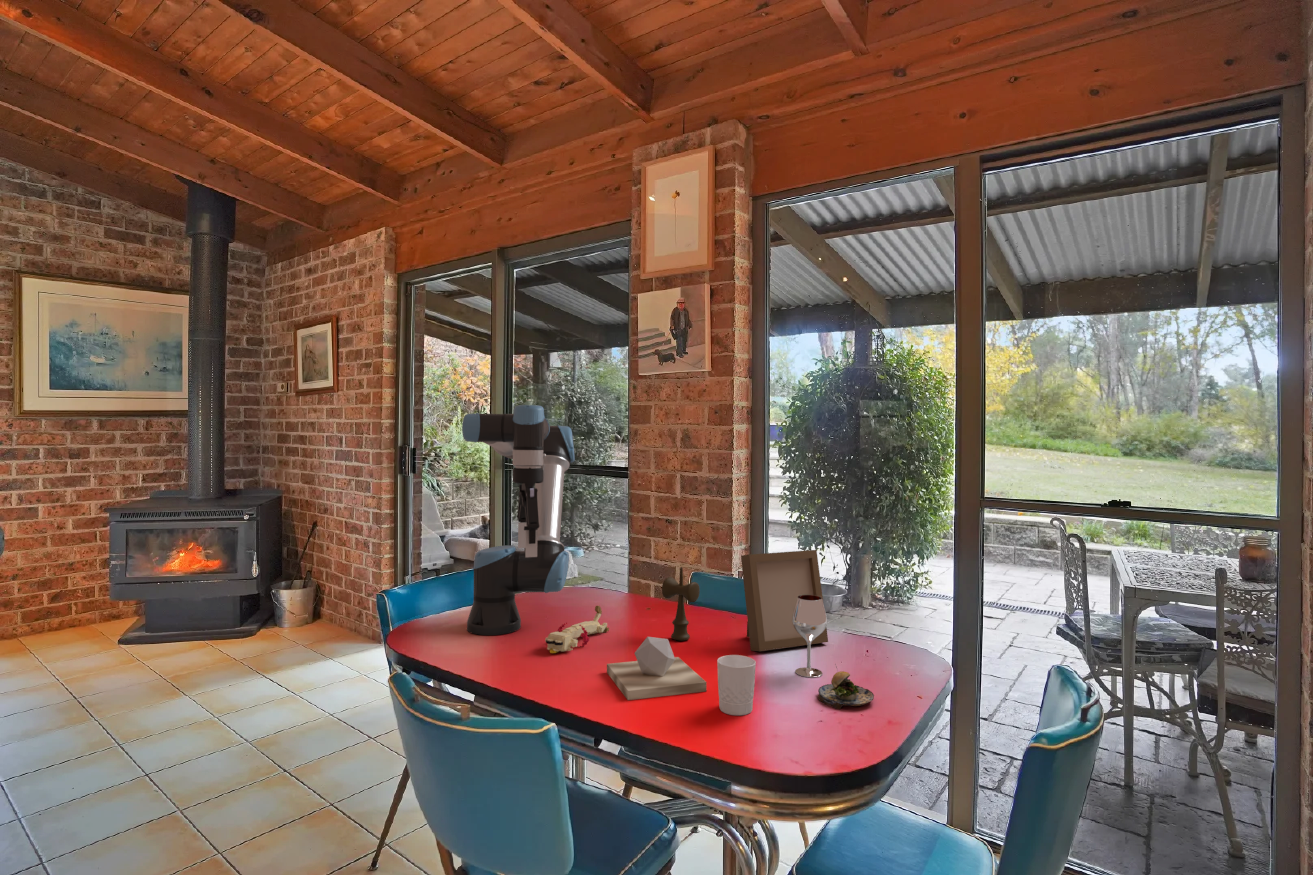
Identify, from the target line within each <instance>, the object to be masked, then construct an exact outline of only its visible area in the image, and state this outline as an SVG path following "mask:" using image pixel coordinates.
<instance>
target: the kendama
mask: <svg viewBox="0 0 1313 875" xmlns="http://www.w3.org/2000/svg"><path fill="white" fill-rule="evenodd" d="M683 574H684V572H683V567H682V566H681V567H680V568H679V579H678V580H679V582H678V581H677V580H676V579H675V578H674V577H672V576H667V577H666V578H665V579H664V580H663V582H662V586H661V591H662V592H661V593H662V596H663V598H665V599H671V598H674V596H677V595H678V600H677V607H676V612H675V618H674V619H673V620H672V622H671V624H672V625H673V632H672V633H671V635H670V637H671V638H670V639H672V640H675V641H677V642H678V641H683V642H684V641H688V640H689V639H690V638H691V636H690V634H689V632H688V625H689V624H690V621H688V619H687V616H686V610H685V603H684V602H685V601H684V599H686V601H688V602H689V603H695V602H697V601H698V600H699V597H700V592H701V591H700V589H701V588H700V585H699V583H698V582H696V581H692V582H690V583H688V584H686V585H685V584H684V575H683Z"/></svg>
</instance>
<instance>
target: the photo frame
mask: <svg viewBox="0 0 1313 875" xmlns="http://www.w3.org/2000/svg"><path fill="white" fill-rule="evenodd" d="M740 562H741V570H742V580H743V588H744V598H745V607H746V608H745V609H746V617H747V618H746V619H747V621H746V622H747V624H746V638H749V646H750V651H751V652H752V651H754V652H765V651H772V650H780V649H786V648H793V647H795V648H796V647H800V646H807V642H806V640H805V639H804V638H803V637H802V636H801V635H800V634H799V633H798V632H797V631H796V630H795V628H794V626H793V624H792V615H793V611H794V607H795V603H796V600H797V597H798V596H800V595H815V596H819V597H821V598H822V600H823V601H824V598H823V596H824V595H823V589H822V582H821V575H820V573H821V572H820V567H819V559H818V550H817V549H809V550H796V551H795V550H793V551H781V552H780V551H779V552H768V553H767V552H765V553H754V554H753V553H752V554H743V555H740ZM827 629H828V628H827V627H826V628H825V630H824V631H823V632H822V633H821V634H820V635H819V636H817V637H816V638H815V639H814V640H813V641H812V642H811V645H815V644H816V645H817V644H822V643H829V637H828V630H827Z"/></svg>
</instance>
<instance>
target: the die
mask: <svg viewBox="0 0 1313 875" xmlns="http://www.w3.org/2000/svg"><path fill="white" fill-rule="evenodd" d="M634 656H635V658H636V661H638V664H639V667H640V669H641V672H642V674H648V675H655V676H661V677H663V676H664V674H665V673H666V672H667V670H668V669H669V668H670V666H671V665H672V664H673V662H674V661H675V657H676V656H675V655H674V652H673V649H672V647H671V644H670V641H669V639H668V638H661V637H653V636H646V638H645V639H644V640H643V642H642V643H641V644H640V646H638V648H636V650H635V652H634Z"/></svg>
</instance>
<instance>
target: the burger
mask: <svg viewBox="0 0 1313 875" xmlns="http://www.w3.org/2000/svg"><path fill="white" fill-rule="evenodd" d="M834 665H835V667H836V669H838V668H837V667H838V666H837V665H836V663H835V664H834ZM850 676H851V673H849V672H847V671H844V670H843V671H842V670H841V671H837V672H836V673H835V674H833V676H832V678H831V683H828V684H825V685H824V684H823V685H821V686H820V687H819V688H818V695H817V699H818V701H819V702H820V703H821V704H823V705H826V706H829V707H831V708H834V709H835V710H836V709H837V710H841V709H842V707H843V706H848V707H850V706H851V707H861V706H864V705H866V704H868V703H870V702H871V701H874V700H875V694H874V693H873V692H872V690H869V689H868V688H864V687H862V686H859V685H857V684H855V683H854V682H853V681H852V680H851V679H848V678H849V677H850Z"/></svg>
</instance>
